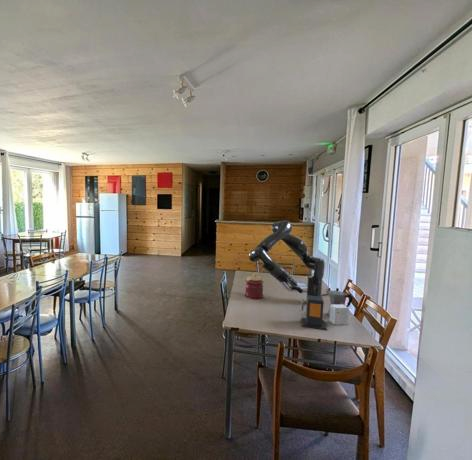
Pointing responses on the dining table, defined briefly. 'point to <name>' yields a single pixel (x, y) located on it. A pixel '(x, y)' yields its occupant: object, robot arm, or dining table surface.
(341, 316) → the small box
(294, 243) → the robot arm
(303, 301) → the push plate
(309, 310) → the dispenser
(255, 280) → the kitchen canister
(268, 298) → the dining table surface
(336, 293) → the coffeepot
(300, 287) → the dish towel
